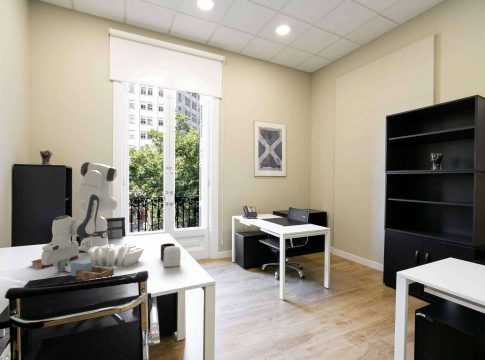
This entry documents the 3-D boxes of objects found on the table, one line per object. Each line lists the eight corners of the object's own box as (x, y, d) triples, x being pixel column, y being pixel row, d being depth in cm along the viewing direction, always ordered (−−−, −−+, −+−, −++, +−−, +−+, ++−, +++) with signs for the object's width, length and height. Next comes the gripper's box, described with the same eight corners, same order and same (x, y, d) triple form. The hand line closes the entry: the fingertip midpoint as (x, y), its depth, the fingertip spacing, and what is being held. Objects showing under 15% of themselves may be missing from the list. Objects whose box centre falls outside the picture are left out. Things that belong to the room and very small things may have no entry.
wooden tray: (113, 276, 140) (113, 268, 140) (99, 282, 131) (99, 274, 131) (90, 272, 144) (90, 265, 144) (75, 279, 135) (75, 270, 135)
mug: (172, 261, 165) (172, 247, 165) (157, 259, 169) (157, 246, 169) (180, 257, 174) (180, 244, 174) (166, 255, 178) (166, 242, 178)
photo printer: (180, 264, 160) (180, 245, 160) (180, 266, 156) (180, 246, 156) (163, 265, 158) (163, 245, 158) (163, 267, 154) (163, 247, 153)
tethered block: (92, 274, 141) (92, 261, 141) (84, 277, 136) (84, 264, 136) (63, 270, 147) (63, 257, 147) (54, 273, 142) (54, 260, 142)
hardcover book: (78, 260, 166) (78, 254, 166) (41, 271, 147) (41, 263, 147) (68, 257, 172) (68, 251, 172) (31, 267, 153) (31, 260, 153)
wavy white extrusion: (79, 266, 154) (79, 249, 154) (95, 258, 170) (95, 242, 170) (136, 267, 154) (136, 250, 154) (146, 258, 171) (146, 243, 171)
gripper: (73, 239, 155) (73, 261, 155) (39, 248, 135) (39, 273, 136) (81, 240, 153) (81, 262, 153) (47, 249, 134) (47, 274, 134)
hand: (61, 267), depth 144 cm, fingers closed on tethered block, 4 cm apart
